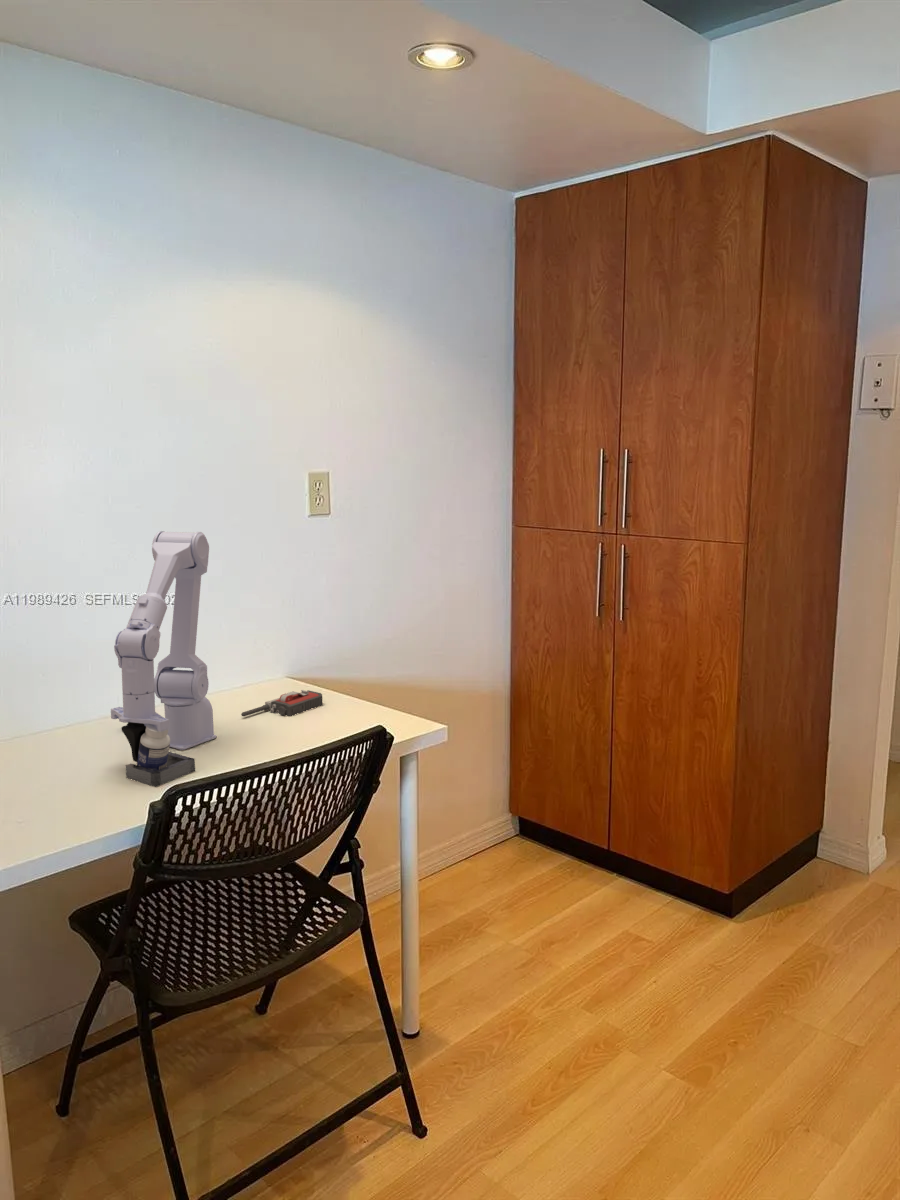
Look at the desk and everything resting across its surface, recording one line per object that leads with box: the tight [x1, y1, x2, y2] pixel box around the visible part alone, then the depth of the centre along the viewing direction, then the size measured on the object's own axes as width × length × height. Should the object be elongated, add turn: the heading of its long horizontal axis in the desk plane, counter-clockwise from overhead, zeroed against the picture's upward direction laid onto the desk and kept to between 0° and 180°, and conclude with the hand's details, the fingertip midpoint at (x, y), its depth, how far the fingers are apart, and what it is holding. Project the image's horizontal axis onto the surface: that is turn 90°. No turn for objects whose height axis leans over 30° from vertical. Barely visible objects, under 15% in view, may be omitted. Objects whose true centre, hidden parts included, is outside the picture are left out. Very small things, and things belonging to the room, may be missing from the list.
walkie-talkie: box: [240, 689, 324, 717], centre depth 210 cm, size 9×4×20 cm
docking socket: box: [125, 751, 196, 788], centre depth 170 cm, size 9×8×2 cm
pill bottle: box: [136, 724, 170, 771], centre depth 170 cm, size 5×5×10 cm
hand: (140, 760), depth 172 cm, fingers closed, pressing on pill bottle
